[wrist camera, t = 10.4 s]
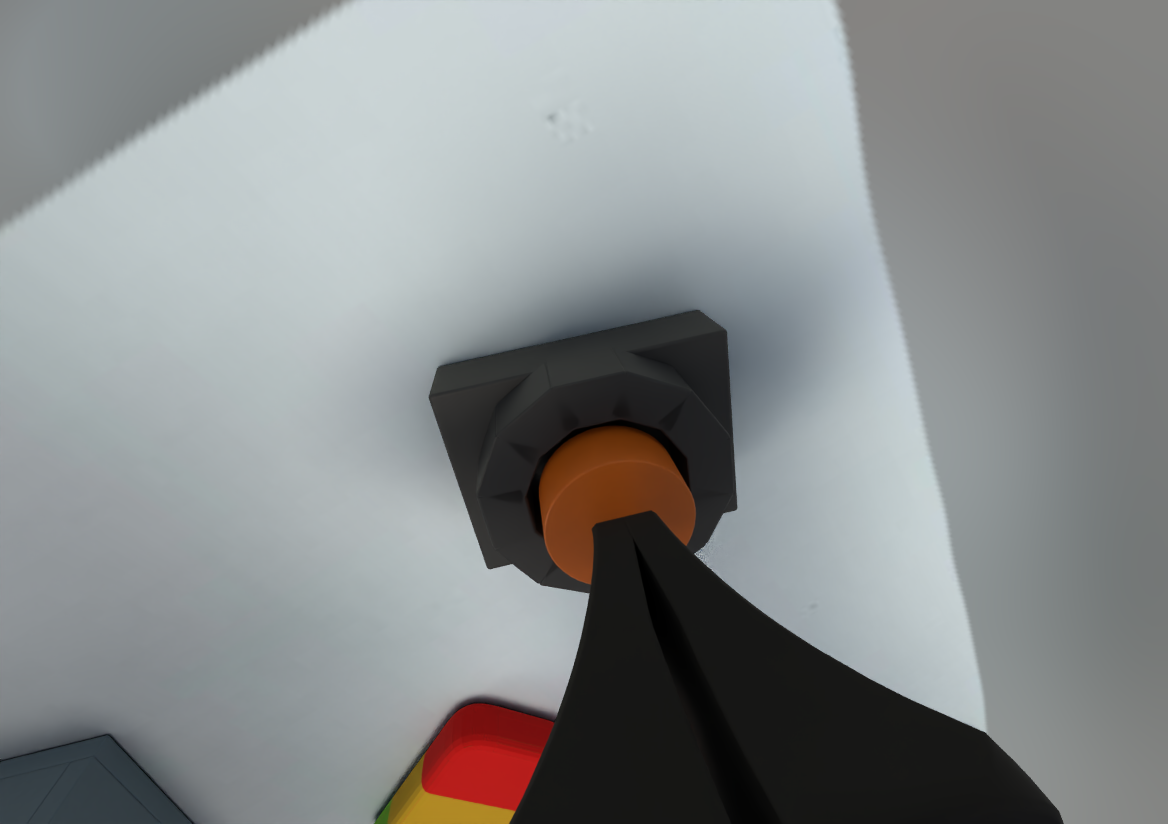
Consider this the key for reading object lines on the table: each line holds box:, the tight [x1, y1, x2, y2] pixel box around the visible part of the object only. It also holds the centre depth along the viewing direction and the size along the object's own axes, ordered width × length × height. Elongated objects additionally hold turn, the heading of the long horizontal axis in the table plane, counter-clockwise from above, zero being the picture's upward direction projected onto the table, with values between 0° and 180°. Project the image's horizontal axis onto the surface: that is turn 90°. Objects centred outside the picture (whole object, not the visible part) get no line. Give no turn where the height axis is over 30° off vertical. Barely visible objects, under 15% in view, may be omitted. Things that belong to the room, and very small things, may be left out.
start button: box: [539, 425, 696, 584], centre depth 13 cm, size 4×4×2 cm
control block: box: [429, 310, 737, 593], centre depth 15 cm, size 8×6×4 cm
